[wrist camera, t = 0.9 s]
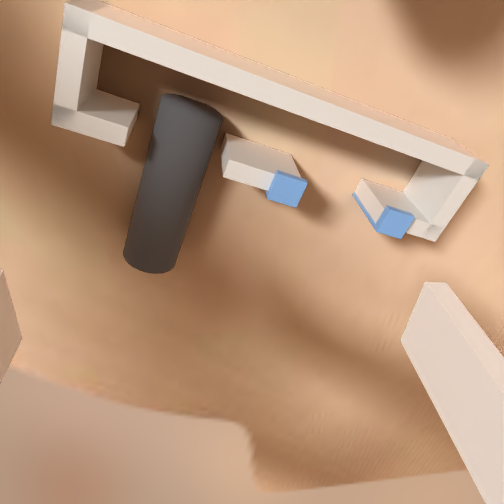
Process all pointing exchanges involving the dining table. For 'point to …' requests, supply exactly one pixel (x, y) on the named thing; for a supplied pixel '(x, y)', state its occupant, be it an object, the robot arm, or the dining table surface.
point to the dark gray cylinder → (170, 181)
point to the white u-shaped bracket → (268, 91)
